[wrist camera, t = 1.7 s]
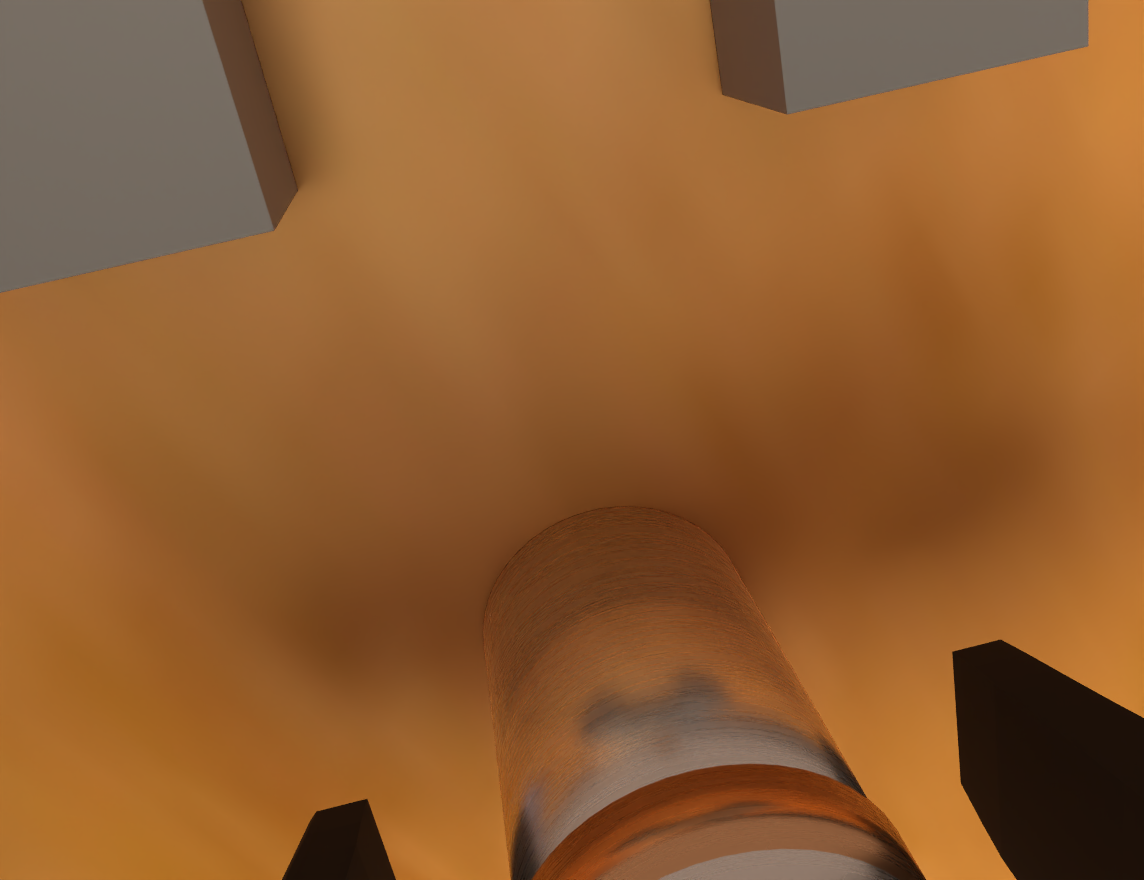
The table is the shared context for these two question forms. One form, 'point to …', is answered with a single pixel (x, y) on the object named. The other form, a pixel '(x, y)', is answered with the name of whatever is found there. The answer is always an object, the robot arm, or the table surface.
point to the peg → (661, 719)
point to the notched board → (253, 139)
